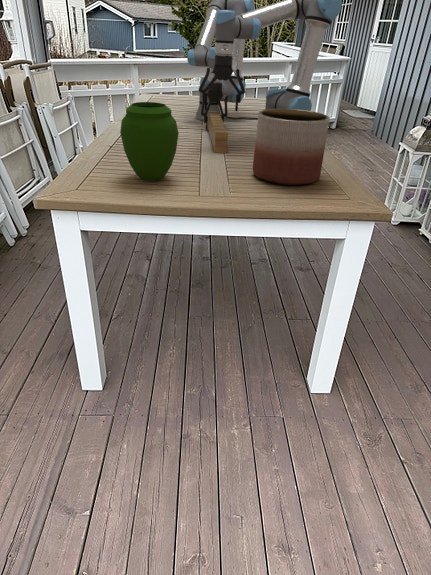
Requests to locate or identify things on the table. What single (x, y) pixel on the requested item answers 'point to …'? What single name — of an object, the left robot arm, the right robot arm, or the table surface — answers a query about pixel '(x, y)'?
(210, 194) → the table surface
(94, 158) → the table surface
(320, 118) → the planter
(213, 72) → the right robot arm
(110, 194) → the table surface
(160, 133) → the vase
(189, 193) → the table surface
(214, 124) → the beam
